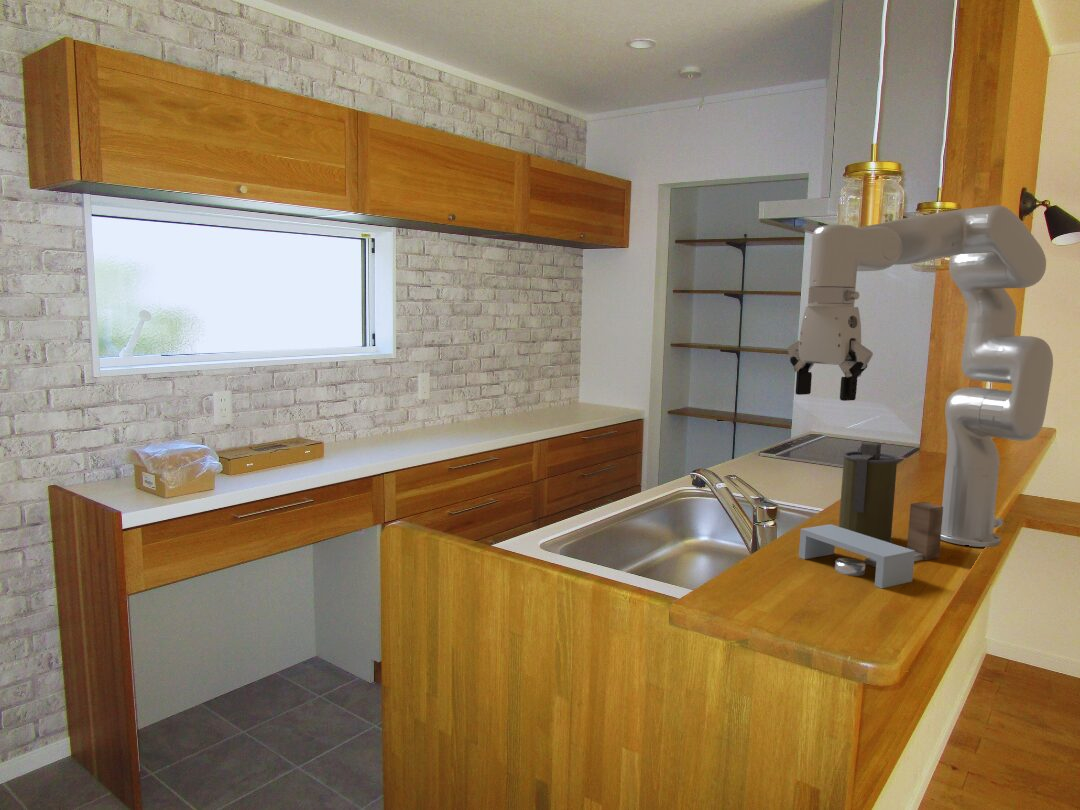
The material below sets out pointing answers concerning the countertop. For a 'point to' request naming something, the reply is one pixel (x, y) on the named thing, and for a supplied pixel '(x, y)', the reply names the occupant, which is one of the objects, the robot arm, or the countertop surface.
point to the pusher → (922, 531)
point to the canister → (868, 491)
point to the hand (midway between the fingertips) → (824, 397)
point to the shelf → (860, 552)
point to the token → (850, 566)
